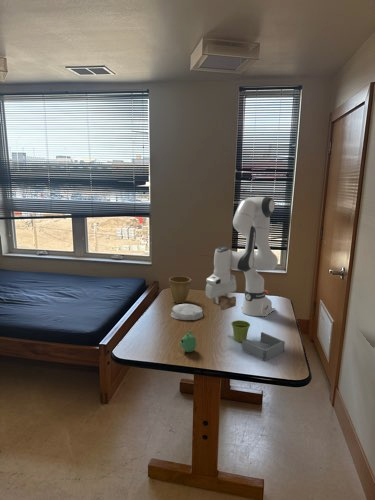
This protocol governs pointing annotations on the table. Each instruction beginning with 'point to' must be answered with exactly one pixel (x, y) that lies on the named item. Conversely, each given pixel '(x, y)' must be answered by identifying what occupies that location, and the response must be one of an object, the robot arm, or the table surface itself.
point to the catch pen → (261, 353)
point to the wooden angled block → (225, 302)
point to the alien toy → (188, 342)
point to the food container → (186, 312)
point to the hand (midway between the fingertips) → (221, 302)
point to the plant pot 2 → (240, 330)
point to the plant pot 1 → (179, 288)
